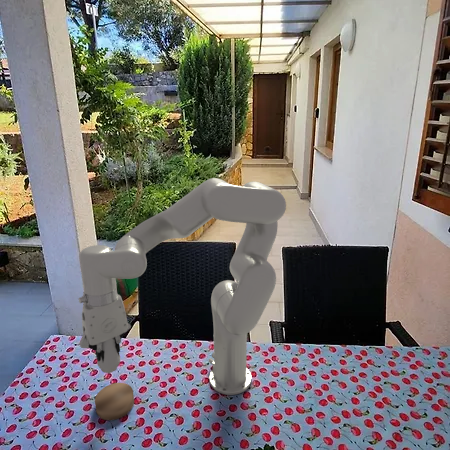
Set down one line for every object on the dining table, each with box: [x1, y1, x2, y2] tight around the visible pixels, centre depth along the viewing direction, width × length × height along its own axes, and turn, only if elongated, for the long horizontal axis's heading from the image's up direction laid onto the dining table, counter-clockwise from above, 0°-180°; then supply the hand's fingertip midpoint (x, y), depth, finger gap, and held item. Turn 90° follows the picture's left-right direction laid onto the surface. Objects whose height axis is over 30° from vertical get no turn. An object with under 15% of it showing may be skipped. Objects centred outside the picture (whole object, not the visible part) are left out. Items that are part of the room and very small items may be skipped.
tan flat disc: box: [94, 382, 135, 421], centre depth 93 cm, size 10×10×3 cm
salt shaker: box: [96, 338, 121, 374], centre depth 88 cm, size 6×6×13 cm
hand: (108, 357), depth 89 cm, fingers closed on salt shaker, 3 cm apart
